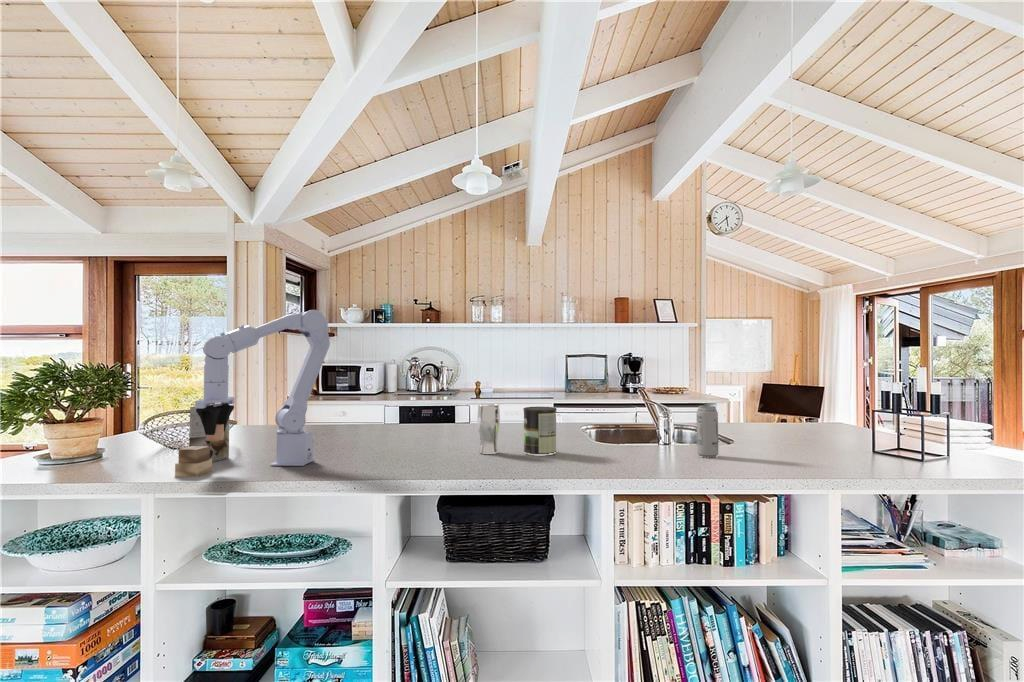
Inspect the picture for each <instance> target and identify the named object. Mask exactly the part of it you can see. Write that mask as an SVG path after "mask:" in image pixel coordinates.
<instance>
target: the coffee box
mask: <svg viewBox="0 0 1024 682" xmlns="http://www.w3.org/2000/svg"><path fill="white" fill-rule="evenodd" d="M188 432H189V436H188V437H189V442H188V444H189V445H188V447H191V446H210V459H212V463H214V462H218V461H222V460H226V459H229V457H230V418H229V419H228V422H227V425H226V429H225V432H224V439H223V440H219V441H206V435H205V431H204V427H203V424H202V421H201V419H200V417H199V415H198V413H197V412H196V408H195V406H190V407H189V431H188ZM225 458H226V459H225ZM221 459H222V460H221ZM217 460H218V461H217Z"/></svg>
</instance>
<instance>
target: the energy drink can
mask: <svg viewBox="0 0 1024 682" xmlns="http://www.w3.org/2000/svg"><path fill="white" fill-rule="evenodd" d="M696 454H697V455H698V457H699V456H702V457H716V456H718V455H719V412H718V411H717V408H716V405H698V408H697V410H696ZM702 457H701V458H702ZM716 458H717V457H716Z"/></svg>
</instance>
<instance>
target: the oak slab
mask: <svg viewBox="0 0 1024 682" xmlns="http://www.w3.org/2000/svg"><path fill="white" fill-rule="evenodd" d="M211 471H212V472H213V462H212V459H210V460H207V461H203V462H200V463H179V462H176V463H174V477H200V475H201V476H203V475H206V474H209V473H211ZM208 472H209V473H208ZM205 473H206V474H205Z"/></svg>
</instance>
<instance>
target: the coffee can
mask: <svg viewBox="0 0 1024 682" xmlns="http://www.w3.org/2000/svg"><path fill="white" fill-rule="evenodd" d="M522 409H523V453H524V452H526V453H530V454H549V453H554V452H556V453H557V408H556V407H554V406H527V407H524V408H522Z"/></svg>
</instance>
